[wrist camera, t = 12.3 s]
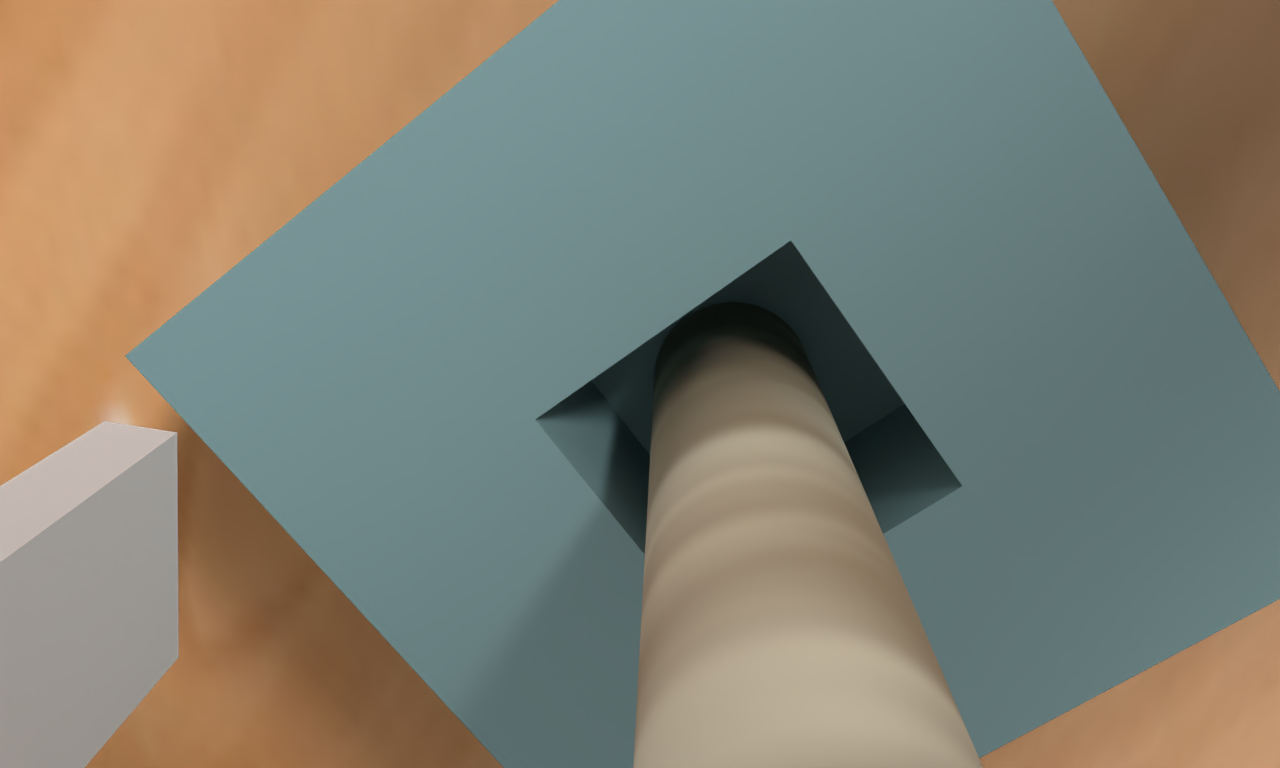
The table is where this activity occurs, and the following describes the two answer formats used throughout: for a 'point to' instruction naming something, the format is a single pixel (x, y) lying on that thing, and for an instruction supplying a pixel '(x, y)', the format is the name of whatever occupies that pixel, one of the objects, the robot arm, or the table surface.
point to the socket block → (791, 289)
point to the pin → (772, 575)
